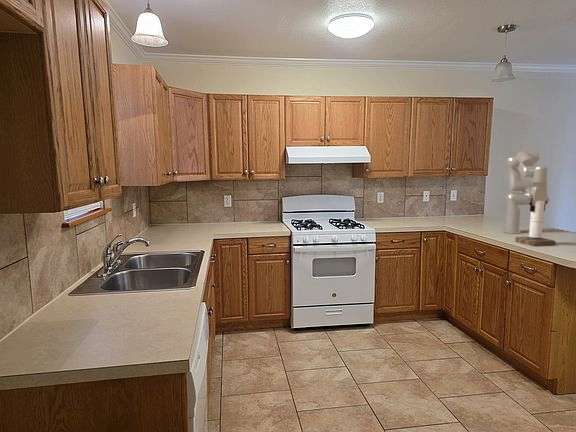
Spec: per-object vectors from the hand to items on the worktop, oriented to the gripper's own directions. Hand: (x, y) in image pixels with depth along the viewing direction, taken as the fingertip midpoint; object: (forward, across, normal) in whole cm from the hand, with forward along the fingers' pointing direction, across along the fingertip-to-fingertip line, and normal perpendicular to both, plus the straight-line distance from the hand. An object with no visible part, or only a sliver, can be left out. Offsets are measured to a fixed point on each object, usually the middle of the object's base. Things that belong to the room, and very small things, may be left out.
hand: (537, 211), depth 252 cm
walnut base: (+22, 0, 0) cm, 22 cm away
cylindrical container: (+18, 0, 0) cm, 18 cm away
